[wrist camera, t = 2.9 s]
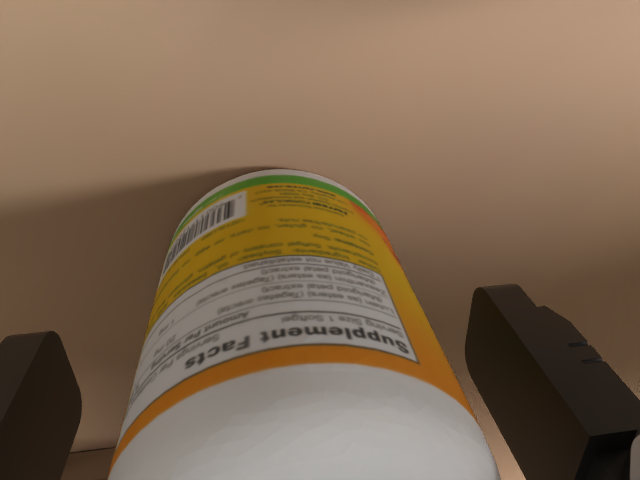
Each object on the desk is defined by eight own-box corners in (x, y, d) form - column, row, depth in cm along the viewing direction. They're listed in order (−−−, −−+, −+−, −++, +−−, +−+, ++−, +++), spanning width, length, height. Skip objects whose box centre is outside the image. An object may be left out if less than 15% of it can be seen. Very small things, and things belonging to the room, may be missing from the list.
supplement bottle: (362, 348, 14) (523, 899, 6) (168, 342, 13) (37, 992, 5) (405, 173, 12) (792, 714, 3) (169, 150, 11) (-97, 831, 2)
